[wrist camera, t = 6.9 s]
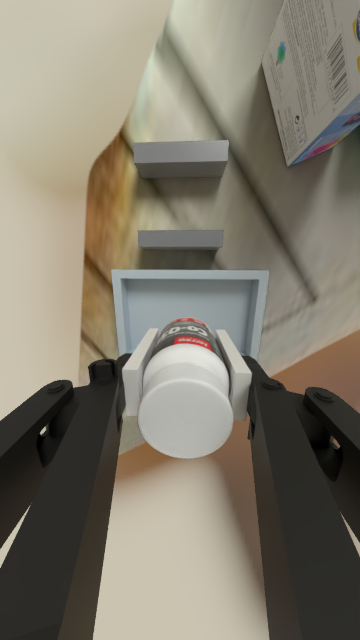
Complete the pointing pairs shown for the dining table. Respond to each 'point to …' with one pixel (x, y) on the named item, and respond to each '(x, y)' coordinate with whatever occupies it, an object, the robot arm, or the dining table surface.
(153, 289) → the parts tray
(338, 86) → the ink cartridge box
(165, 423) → the pill bottle
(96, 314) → the dining table surface
